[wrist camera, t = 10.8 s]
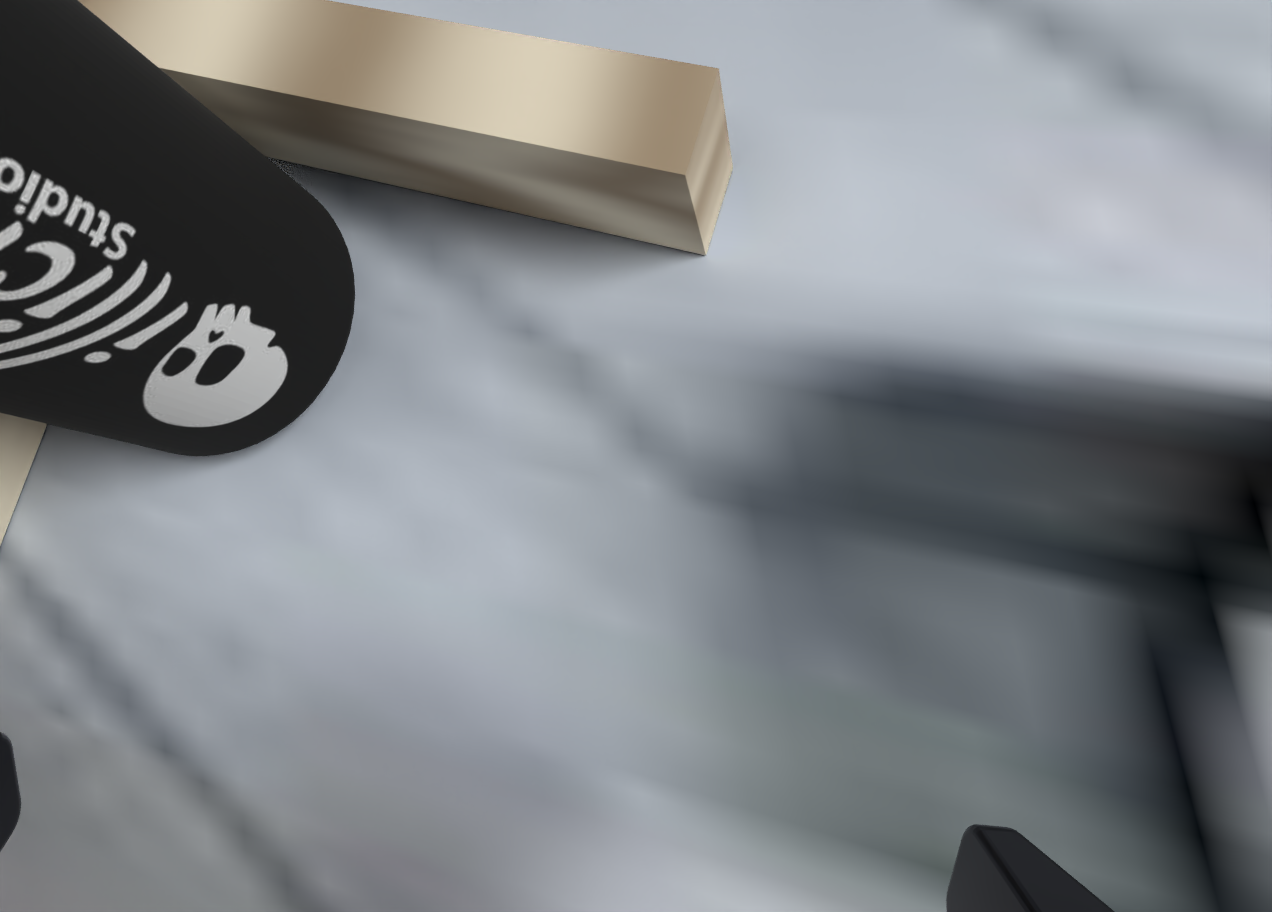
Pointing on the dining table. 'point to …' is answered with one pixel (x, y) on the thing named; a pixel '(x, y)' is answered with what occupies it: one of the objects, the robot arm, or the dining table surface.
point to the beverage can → (151, 252)
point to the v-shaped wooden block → (440, 120)
